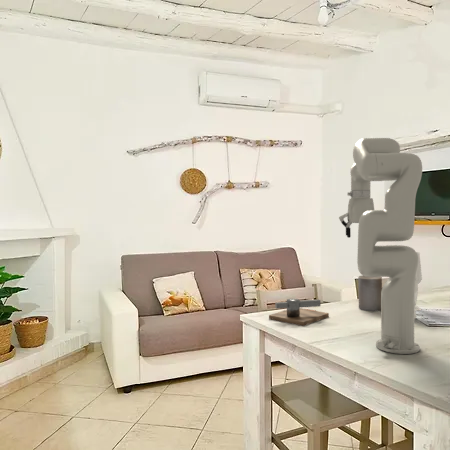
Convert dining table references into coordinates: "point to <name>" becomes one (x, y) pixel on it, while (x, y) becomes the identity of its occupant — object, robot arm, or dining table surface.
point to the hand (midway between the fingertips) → (360, 237)
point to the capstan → (296, 306)
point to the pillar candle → (369, 293)
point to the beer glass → (415, 297)
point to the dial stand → (300, 317)
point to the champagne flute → (418, 276)
